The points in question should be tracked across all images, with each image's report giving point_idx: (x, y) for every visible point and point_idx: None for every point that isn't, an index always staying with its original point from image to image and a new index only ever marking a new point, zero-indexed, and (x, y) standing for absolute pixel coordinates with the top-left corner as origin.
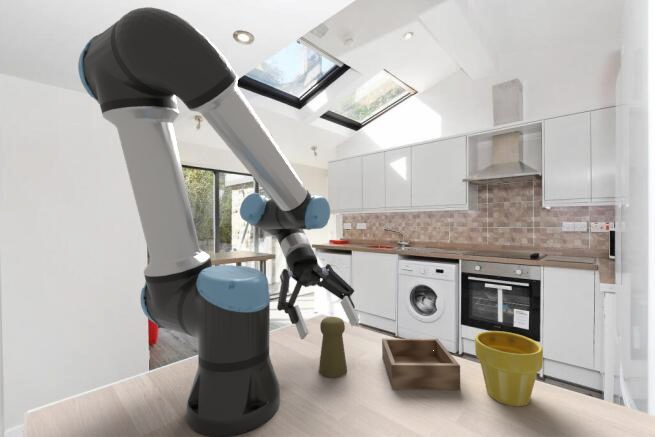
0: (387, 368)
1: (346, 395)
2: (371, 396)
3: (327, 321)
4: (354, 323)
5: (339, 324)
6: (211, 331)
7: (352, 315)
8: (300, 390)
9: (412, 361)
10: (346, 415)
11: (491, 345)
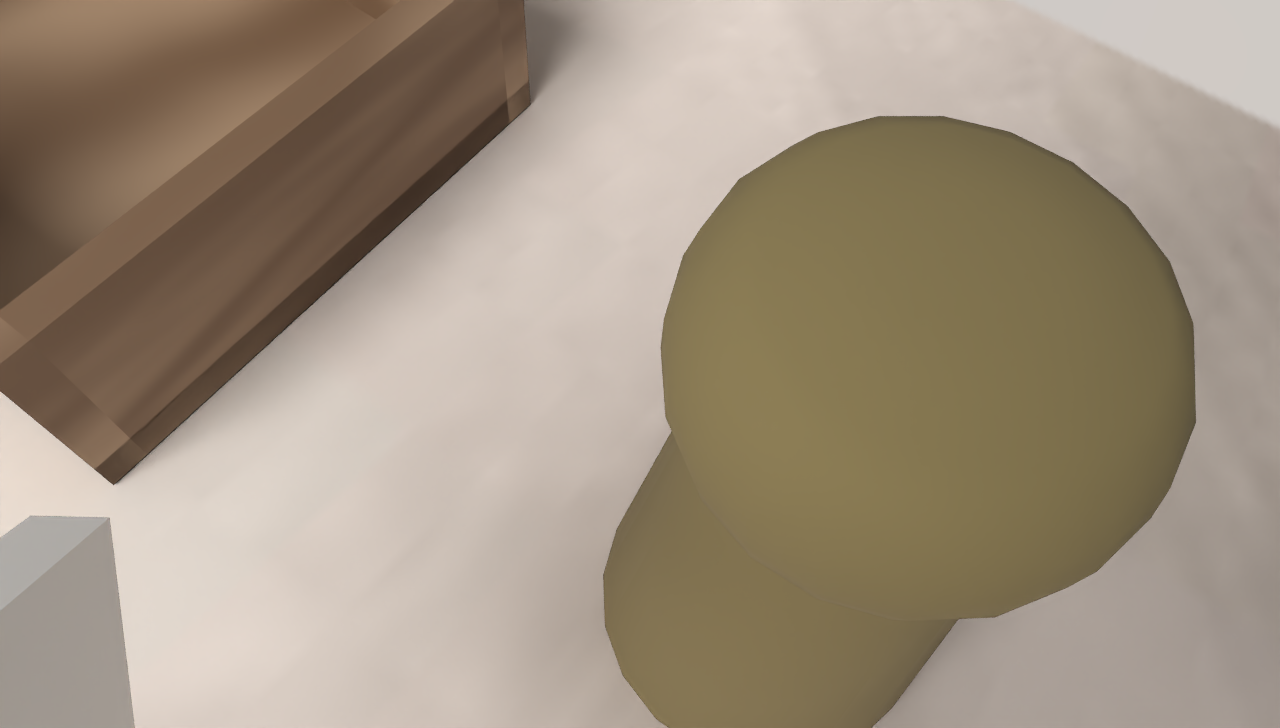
0: (370, 204)
1: None
2: (719, 128)
3: (1129, 236)
4: (115, 645)
5: (900, 118)
6: None
7: (13, 680)
8: (1194, 477)
9: (30, 197)
10: (981, 91)
11: None
